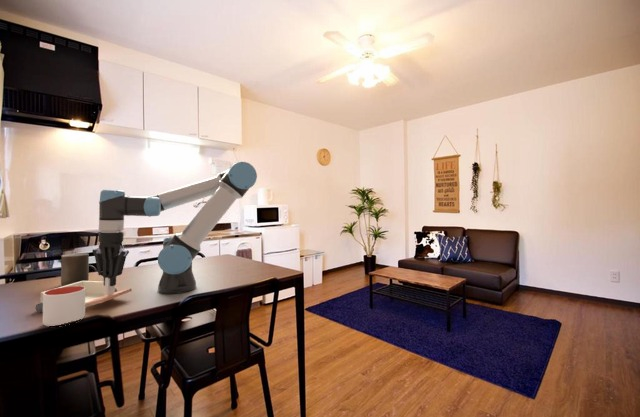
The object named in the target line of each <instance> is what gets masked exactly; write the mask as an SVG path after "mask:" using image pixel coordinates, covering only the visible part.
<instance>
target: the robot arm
mask: <svg viewBox="0 0 640 417" xmlns="http://www.w3.org/2000/svg"><path fill="white" fill-rule="evenodd" d="M257 179H258V173H257V170H256V168H255V167H254V166H253V165H252V164H251V163H249V162H246V161H236V162H234V163H232V164H231V166H230V167H229V168H228V169H227V170H224V171H223V172H219V173H217V175H216V176H214V177H210V178H207V179H204V180H200V181H196V182H193V183H191V184H187V185H184V186H180V187H176V188H172V189H169V190H167V191H164V192H160V193H157V194H154V195H153V194H152V195H150V196H137V195H136V196H135V195H134V196H132V195H126V193H125V190H118V189H116V190H115V189H103V190H101V191H100V194H99V201H98V203H99V208H98V210H99V212H98V214H99V217H98V231H100V232H98V236H97V238H98V243H99V245H98V247H97V248H96V249H92V253H93V256H94V259H95V263H96V264H95V265H96V269H97V275H98V276H101V277H102V278H103V282H104V286H105V295H106V296H109V295H111V294H114V286H116V285H117V277H118V276H121V275H122V274H123V271H124V268H125V264H126V259H127V256H128V254H129V253H130V252H129V250H127V249H125V248H124V245H123V241H124V237H125V236H124V235H125V234H124V232H123V231H124V230H125V229H124V227H125V225H124V224H125V216H126V217H128V216H129V217H130V216H132V217H135V216H136V217H148V218H149V217H158V216H160V214H161V212H164V211H166V210H169V209H173V208H177V207H179V206H183V205H185V204H188V203H192V202H194V201H198V200H201V199H205V198H208V197H210V198H209V199H208V200H207V201H206V203H204V205H203V206H202V208H200V210H198V212H197V213H196V215H195V216H193V218H192V220H191V221H190V222H189V223H188V225H186V227H185V228H184V229H183V231H182V232H178V233H175V234H174V235H173V237H165V238H163V243H162V246H163V248H162V249H161V250H160V251H159V253H158V256H157V263H158V267H159V268H160V270H162V275H161V278H160V280H159V283H158V286H157V292H158V293H160V294H165V295H166V294H169V295H173V294H175V295H176V294H182V293H183V294H184V293H187V291H188V292H190V290H191V291H193V290H196V288H197V282H196V281H197V280H196V279H195V275H194V272H193V260H194V259H195V258H196V256H197V255H198V254H199V253H200V252H201V245H202V243H203V242H204V241H205V239H206V238H207V237H208V236H209V234H210V233H211V232H212V230H213V229H214V228H215V226H217V225H218V223H219V221H220V220H221V219H222V218H223V216H225V214H227V212H228V210H229V209H230V208H231V206H232V205H233V204H234V203H235V201H236V200H238V199H243V197H244V196H245V194H246V193H247V192H248V191H249V189H251V188H252V187H254V186H255V184H256V182H257Z"/></svg>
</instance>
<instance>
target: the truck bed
mask: <svg viewBox="0 0 640 417" xmlns="http://www.w3.org/2000/svg"><path fill="white" fill-rule="evenodd" d="M69 286H83V287H85V303H86V302H89V301H92V300H94V299H97V298H100V297H102V296H105V286H104V281H101V280H99V281H93V280H88V281H80V282H76V283H73V284H69V285H66V286H59V287H56V288H61V287H69ZM115 286H116V285H115ZM115 286H114V292H118V289H117V288H116V287H115ZM56 288H55V287H54V289H56ZM52 289H53V288H51V289H48V290H43V291H41V292H40V302H39V303H37V304H36V305H35V311H36V312H37V313H43V293H44V292H46V291H49V290H52ZM95 305H96V304H93V305H89V306H85V309H87V308H90V307H92V306H95Z"/></svg>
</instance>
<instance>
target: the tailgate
mask: <svg viewBox="0 0 640 417" xmlns="http://www.w3.org/2000/svg"><path fill="white" fill-rule="evenodd" d="M132 291H133V290H132V288H127V289H123V290H119V291H118V290H117V292H114V294H111V295H109V296H106V295H105V296H102V297H100V298H97V299H94V300H92V301H89V302H86V303H85V306H89V305H93V304H95V305H98V304H102V303H105V302H106V301H110V300H113V299H115V298H118V297H121V296H123V295H126V294H128V293H130V292H132ZM93 306H94V305H93Z"/></svg>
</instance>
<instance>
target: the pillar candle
mask: <svg viewBox="0 0 640 417" xmlns="http://www.w3.org/2000/svg"><path fill="white" fill-rule="evenodd" d="M89 255H90V254H89V253H85V252H76V251H75V252H74V253H69V254H63V255H61V263H60V264H61V270H60V287H62V286H66V285H69V284H73V283H76V282H80V281H90V280H89V274H90V271H89V270H90V268H89V264H90V263H89V260H90V259H89V258H90V256H89Z"/></svg>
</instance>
